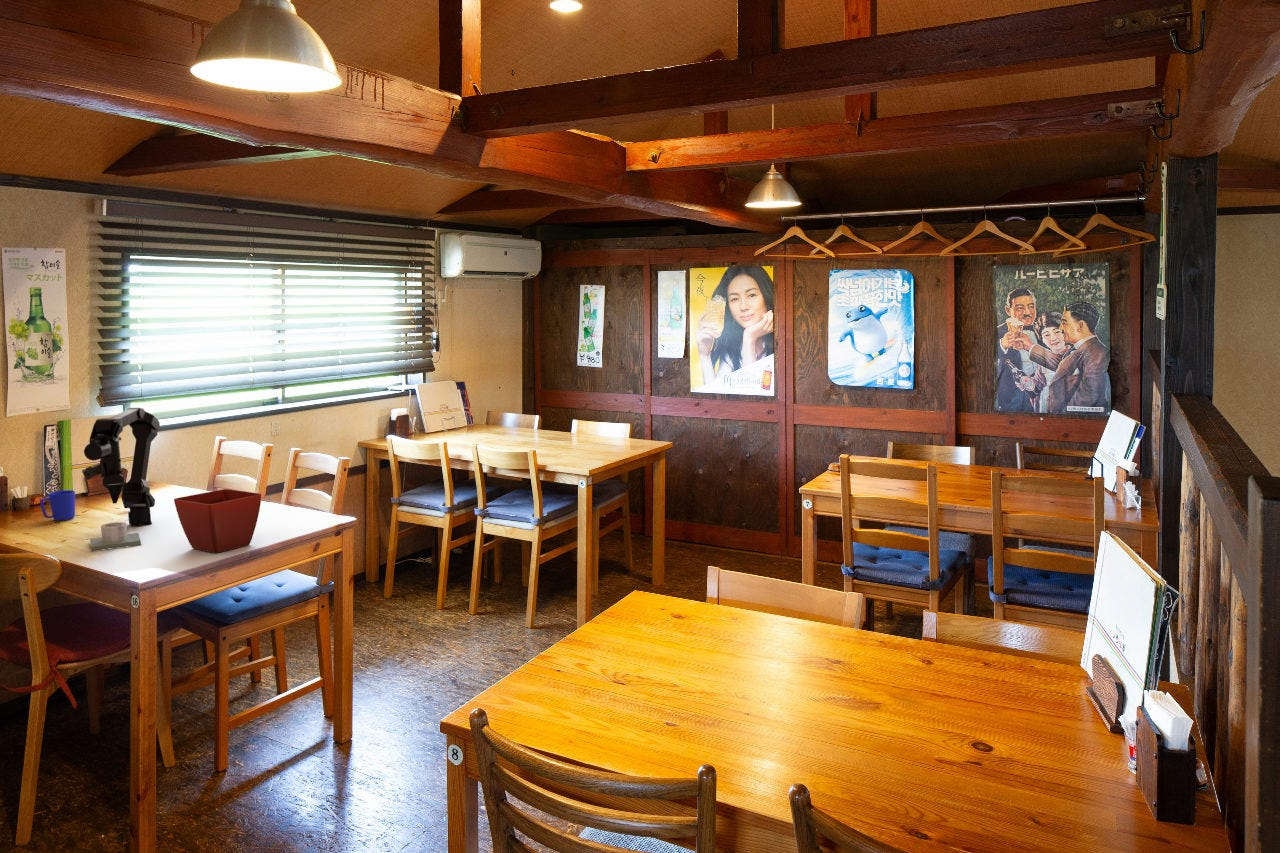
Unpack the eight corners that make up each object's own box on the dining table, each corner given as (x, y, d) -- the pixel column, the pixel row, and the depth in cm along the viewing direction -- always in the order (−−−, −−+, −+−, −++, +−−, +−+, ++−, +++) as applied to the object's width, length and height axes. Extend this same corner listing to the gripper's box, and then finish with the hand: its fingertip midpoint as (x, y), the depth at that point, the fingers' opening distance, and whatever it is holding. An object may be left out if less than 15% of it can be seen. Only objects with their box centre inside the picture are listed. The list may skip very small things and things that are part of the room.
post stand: (138, 537, 307) (137, 518, 306) (141, 545, 297) (139, 525, 296) (90, 543, 300) (88, 523, 299) (91, 551, 290) (89, 531, 289)
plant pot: (229, 536, 307) (225, 487, 305) (266, 543, 298) (263, 493, 295) (176, 550, 291) (172, 498, 289) (213, 558, 281) (209, 504, 279)
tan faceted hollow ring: (126, 535, 303) (125, 521, 303) (128, 540, 297) (126, 525, 296) (101, 538, 299) (100, 524, 299) (102, 543, 293) (101, 528, 293)
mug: (35, 523, 328) (32, 496, 327) (67, 515, 339) (64, 489, 338) (50, 525, 325) (48, 497, 324) (82, 517, 336) (80, 491, 335)
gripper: (82, 454, 310) (86, 498, 312) (82, 461, 294) (87, 509, 296) (119, 451, 316) (123, 495, 318) (122, 458, 300) (126, 504, 302)
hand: (114, 500), depth 308 cm, fingers open, 9 cm apart
